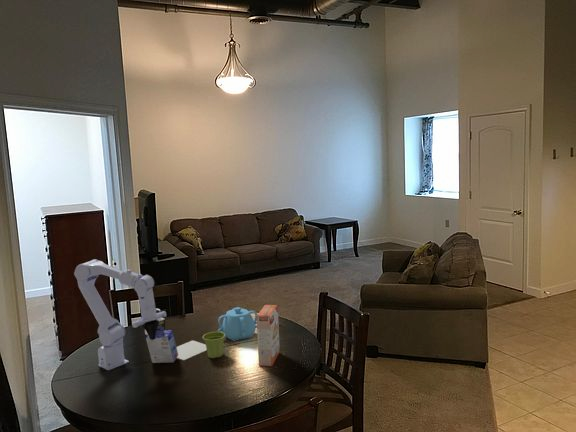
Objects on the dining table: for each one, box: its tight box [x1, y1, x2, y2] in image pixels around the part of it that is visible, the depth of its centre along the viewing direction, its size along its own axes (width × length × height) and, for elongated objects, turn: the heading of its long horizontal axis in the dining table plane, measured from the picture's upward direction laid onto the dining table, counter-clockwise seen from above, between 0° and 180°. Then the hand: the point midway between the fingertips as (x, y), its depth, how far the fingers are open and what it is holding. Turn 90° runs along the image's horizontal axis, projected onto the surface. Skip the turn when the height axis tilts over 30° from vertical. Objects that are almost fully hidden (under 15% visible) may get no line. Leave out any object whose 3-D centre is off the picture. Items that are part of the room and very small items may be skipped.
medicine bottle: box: [144, 308, 167, 336], centre depth 228 cm, size 7×7×12 cm
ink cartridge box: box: [145, 327, 178, 364], centre depth 195 cm, size 10×6×14 cm, turn 80°
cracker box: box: [256, 304, 280, 367], centre depth 192 cm, size 14×6×21 cm, turn 168°
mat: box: [176, 339, 207, 361], centre depth 207 cm, size 16×14×1 cm
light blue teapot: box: [217, 306, 258, 342], centre depth 220 cm, size 16×16×14 cm
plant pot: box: [202, 331, 226, 359], centre depth 200 cm, size 9×9×9 cm
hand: (152, 339), depth 191 cm, fingers closed, pressing on ink cartridge box
